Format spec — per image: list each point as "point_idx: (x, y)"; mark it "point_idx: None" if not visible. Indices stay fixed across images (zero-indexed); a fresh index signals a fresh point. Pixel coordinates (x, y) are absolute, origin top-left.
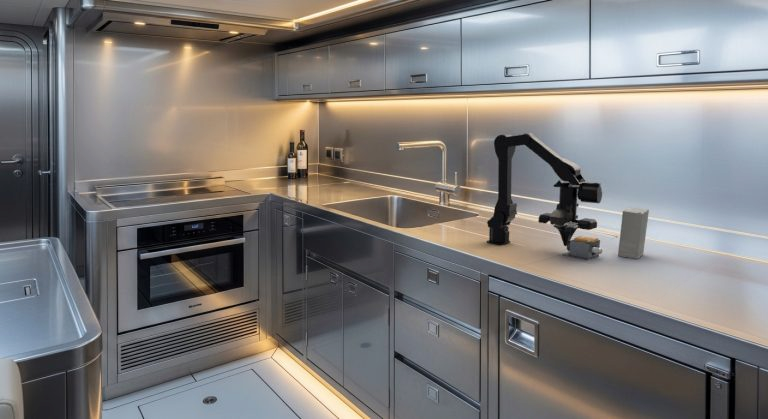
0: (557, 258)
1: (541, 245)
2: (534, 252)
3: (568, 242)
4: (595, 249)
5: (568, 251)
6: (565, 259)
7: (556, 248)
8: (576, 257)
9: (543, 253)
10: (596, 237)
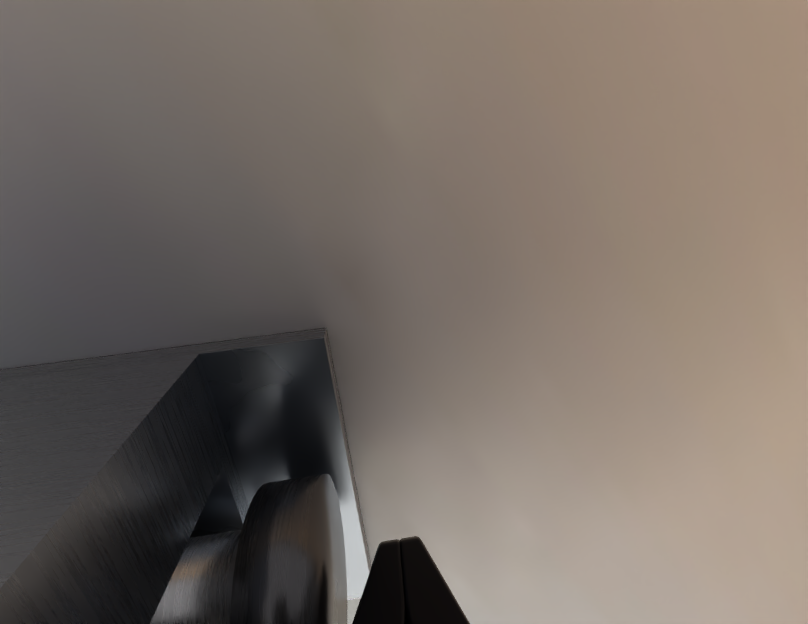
0: (217, 64)
1: (767, 498)
2: (730, 115)
3: (298, 614)
4: None
5: (352, 493)
6: (84, 125)
7: (575, 523)
8: (78, 361)
9: (585, 183)
10: None
